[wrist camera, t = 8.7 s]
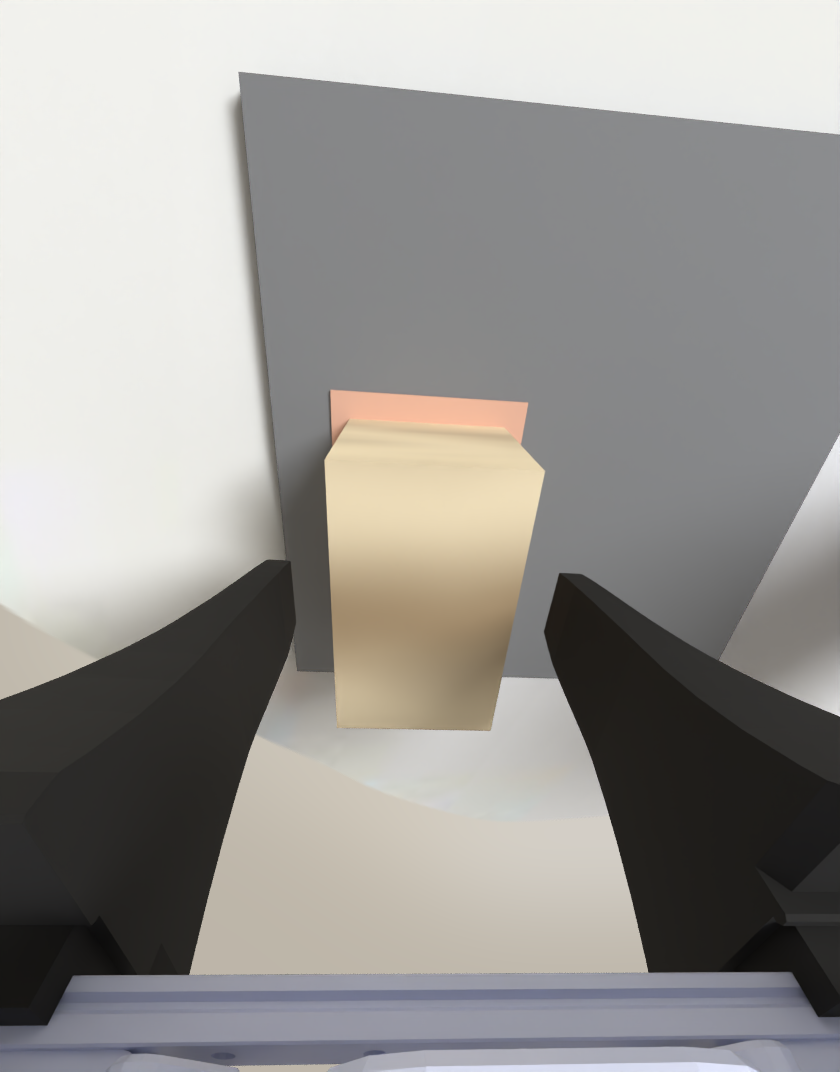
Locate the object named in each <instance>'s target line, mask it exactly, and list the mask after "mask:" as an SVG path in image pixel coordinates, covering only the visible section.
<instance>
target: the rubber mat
mask: <svg viewBox="0 0 840 1072" xmlns="http://www.w3.org/2000/svg"><path fill="white" fill-rule="evenodd" d="M239 82H240V92H241V102H242V113H243V123H244V133H245V143H246V153H247V164H248V174H249V184H250V194H251V204H252V214H253V225H254V235H255V245H256V255H257V265H258V276H259V286H260V296H261V306H262V316H263V327H264V337H265V347H266V357H267V367H268V378H269V388H270V398H271V408H272V418H273V429H274V439H275V449H276V459H277V469H278V480H279V490H280V500H281V510H282V520H283V531H284V541H285V551H286V561H291V570H292V581H293V592H294V602H295V613H296V626H295V630H294V643H295V653H296V663H297V671H313V672H334V652H333V631H332V610H331V588H330V567H329V546H328V525H327V504H326V482H325V461H324V460H325V458H326V456H327V455H328V453H329V452H330V450H331V448H332V447H333V445H334V443H335V442H336V440H337V439H338V437H339V435H340V434H341V432H342V430H343V429H344V427H345V426H346V424H347V422H348V421H349V419H365V420H382V421H400V422H417V423H435V424H452V425H470V426H487V427H505V429H506V430H507V431H508V432H509V433H510V434H511V435H512V436H513V437H514V438H515V439H516V440H517V441H518V443H519V444H520V445H521V446H522V447H523V448H524V449H525V450H526V451H527V452H528V453H529V454H530V455H531V457H532V458H533V459H534V460H535V461H536V462H537V463H538V464H539V465H540V466H541V467H542V468H543V469H544V470H545V474H544V479H543V484H542V488H541V493H540V498H539V503H538V507H537V512H536V517H535V522H534V526H533V531H532V536H531V541H530V545H529V550H528V555H527V560H526V564H525V569H524V574H523V579H522V583H521V588H520V593H519V598H518V602H517V607H516V612H515V617H514V621H513V626H512V631H511V636H510V640H509V645H508V650H507V655H506V659H505V664H504V669H503V674H502V677H522V678H557V679H558V677H557V675H556V672H555V670H554V667H553V665H552V661H551V658H550V654H549V651H548V647H547V643H546V639H545V635H544V629H545V625H546V621H547V617H548V614H549V610H550V606H551V602H552V598H553V595H554V591H555V587H556V583H557V579H558V576H559V573H574V574H583V575H584V576H586V577H588V578H589V579H591V580H593V581H594V582H596V583H597V584H599V585H600V586H602V587H603V588H605V589H606V590H608V591H609V592H611V593H612V594H613V595H615V596H616V597H618V598H619V599H621V600H622V601H623V602H625V603H626V604H628V605H629V606H631V607H632V608H634V609H635V610H637V611H638V612H639V613H641V614H642V615H644V616H645V617H647V618H648V619H650V620H651V621H653V622H654V623H656V624H658V625H659V626H661V627H662V628H664V629H665V630H667V631H669V632H670V633H672V634H673V635H675V636H677V637H678V638H680V639H681V640H683V641H685V642H686V643H688V644H690V645H691V646H693V647H695V648H697V649H698V650H700V651H702V652H703V653H705V654H707V655H709V656H711V657H713V658H715V659H716V660H719V658H720V656H721V654H722V652H723V651H724V649H725V647H726V645H727V643H728V641H729V639H730V637H731V636H732V634H733V632H734V630H735V628H736V626H737V624H738V623H739V621H740V619H741V617H742V615H743V613H744V611H745V609H746V608H747V606H748V604H749V602H750V600H751V598H752V596H753V595H754V593H755V591H756V589H757V587H758V585H759V583H760V581H761V580H762V578H763V576H764V574H765V572H766V570H767V568H768V567H769V565H770V563H771V561H772V559H773V557H774V555H775V554H776V552H777V550H778V548H779V546H780V544H781V542H782V540H783V539H784V537H785V535H786V533H787V531H788V529H789V527H790V526H791V524H792V522H793V520H794V518H795V516H796V514H797V512H798V511H799V509H800V507H801V505H802V503H803V501H804V499H805V498H806V496H807V494H808V492H809V490H810V488H811V486H812V484H813V483H814V481H815V479H816V477H817V475H818V473H819V471H820V470H821V468H822V466H823V464H824V462H825V460H826V458H827V456H828V455H829V453H830V451H831V449H832V447H833V445H834V443H835V442H836V440H837V438H838V436H839V434H840V135H838V134H828V133H819V132H809V131H800V130H790V129H780V128H771V127H761V126H752V125H742V124H733V123H723V122H713V121H704V120H694V119H685V118H675V117H666V116H656V115H646V114H637V113H627V112H618V111H608V110H599V109H589V108H579V107H570V106H560V105H551V104H541V103H532V102H522V101H512V100H503V99H493V98H484V97H474V96H465V95H455V94H445V93H436V92H426V91H417V90H407V89H398V88H388V87H379V86H369V85H359V84H350V83H340V82H331V81H321V80H312V79H302V78H292V77H283V76H273V75H264V74H254V73H245V72H239Z"/></svg>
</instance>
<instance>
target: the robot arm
mask: <svg viewBox="0 0 840 1072" xmlns="http://www.w3.org/2000/svg"><path fill="white" fill-rule="evenodd" d="M295 626H296V613H295V602H294V592H293V581H292V570H291V561H283V560H266V561H264V562H263V563H261V564H260V565H258V566H257V567H255V568H254V569H252V570H251V571H250V572H248V573H247V574H245V575H244V576H243V577H241V578H240V579H238V580H237V581H236V582H234V583H233V584H231V585H230V586H228V587H227V588H225V589H224V590H223V591H221V592H220V593H218V594H217V595H215V596H214V597H212V598H211V599H209V600H208V601H206V602H205V603H203V604H201V605H200V606H198V607H197V608H195V609H194V610H192V611H190V612H189V613H187V614H186V615H184V616H182V617H181V618H179V619H178V620H176V621H174V622H173V623H171V624H169V625H167V626H166V627H164V628H162V629H160V630H159V631H157V632H155V633H153V634H151V635H149V636H147V637H146V638H144V639H142V640H140V641H138V642H136V643H134V644H132V645H130V646H128V647H126V648H124V649H122V650H120V651H118V652H116V653H113V654H111V655H109V656H107V657H105V658H102V659H100V660H98V661H96V662H93V663H91V664H89V665H87V666H85V667H82V668H80V669H78V670H76V671H73V672H71V673H69V674H67V675H64V676H62V677H59V678H57V679H54V680H51V681H49V682H46V683H44V684H41V685H39V686H36V687H34V688H31V689H28V690H26V691H23V692H20V693H18V694H15V695H12V696H10V697H7V698H4V699H1V700H0V1072H239V1070H238V1068H235V1067H230V1066H242V1065H303V1064H304V1065H307V1064H341V1065H337V1066H334V1067H331V1068H330V1069H329V1070H328V1071H327V1072H840V717H839V716H837V715H834V714H832V713H829V712H827V711H824V710H822V709H820V708H817V707H815V706H813V705H810V704H808V703H806V702H803V701H801V700H798V699H796V698H794V697H792V696H789V695H787V694H785V693H783V692H781V691H779V690H777V689H774V688H772V687H770V686H768V685H766V684H764V683H761V682H759V681H757V680H755V679H753V678H751V677H749V676H747V675H745V674H743V673H741V672H739V671H737V670H735V669H733V668H731V667H729V666H728V665H726V664H724V663H722V662H720V661H718V660H716V659H715V658H713V657H711V656H709V655H707V654H705V653H703V652H702V651H700V650H698V649H697V648H695V647H693V646H691V645H690V644H688V643H686V642H685V641H683V640H681V639H680V638H678V637H677V636H675V635H673V634H672V633H670V632H669V631H667V630H665V629H664V628H662V627H661V626H659V625H658V624H656V623H654V622H653V621H651V620H650V619H648V618H647V617H645V616H644V615H642V614H641V613H639V612H638V611H637V610H635V609H634V608H632V607H631V606H629V605H628V604H626V603H625V602H623V601H622V600H621V599H619V598H618V597H616V596H615V595H613V594H612V593H611V592H609V591H608V590H606V589H605V588H603V587H602V586H600V585H599V584H597V583H596V582H594V581H593V580H591V579H589V578H588V577H586V576H584V575H583V574H574V573H559V576H558V579H557V583H556V587H555V591H554V595H553V598H552V602H551V606H550V610H549V614H548V617H547V621H546V625H545V629H544V635H545V639H546V643H547V647H548V651H549V654H550V658H551V661H552V665H553V667H554V670H555V672H556V675H557V677H558V679H559V682H560V684H561V686H562V689H563V691H564V694H565V696H566V698H567V701H568V703H569V705H570V707H571V710H572V712H573V714H574V717H575V719H576V721H577V724H578V726H579V728H580V731H581V733H582V735H583V738H584V740H585V742H586V745H587V748H588V750H589V753H590V756H591V758H592V761H593V764H594V767H595V771H596V774H597V777H598V780H599V783H600V786H601V790H602V793H603V796H604V799H605V803H606V806H607V809H608V813H609V816H610V820H611V823H612V826H613V830H614V834H615V837H616V840H617V844H618V848H619V852H620V856H621V859H622V863H623V867H624V871H625V875H626V879H627V882H628V886H629V890H630V894H631V898H632V902H633V906H634V910H635V915H636V919H637V923H638V928H639V932H640V937H641V941H642V945H643V950H644V954H645V958H646V963H647V967H648V972H649V973H494V974H493V973H492V974H491V973H490V974H301V975H299V974H291V975H289V974H285V975H189V973H190V969H191V965H192V960H193V956H194V952H195V948H196V944H197V940H198V936H199V932H200V928H201V924H202V920H203V915H204V911H205V907H206V903H207V899H208V895H209V891H210V888H211V884H212V880H213V876H214V872H215V869H216V865H217V861H218V857H219V854H220V849H221V846H222V842H223V838H224V835H225V832H226V828H227V824H228V821H229V817H230V814H231V810H232V807H233V803H234V800H235V796H236V793H237V789H238V786H239V783H240V780H241V776H242V773H243V770H244V766H245V763H246V760H247V757H248V753H249V750H250V747H251V745H252V742H253V739H254V737H255V734H256V731H257V729H258V727H259V724H260V722H261V719H262V717H263V715H264V712H265V710H266V707H267V705H268V703H269V700H270V698H271V695H272V693H273V691H274V688H275V686H276V683H277V681H278V679H279V676H280V674H281V671H282V669H283V666H284V664H285V661H286V659H287V656H288V653H289V649H290V645H291V642H292V638H293V634H294V630H295Z"/></svg>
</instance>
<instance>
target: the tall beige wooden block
mask: <svg viewBox="0 0 840 1072" xmlns="http://www.w3.org/2000/svg"><path fill="white" fill-rule="evenodd" d="M324 461H325V482H326V504H327V525H328V546H329V567H330V588H331V610H332V631H333V652H334V673H335V695H336V716H337V728H371V729H425V730H478V731H491V726H492V721H493V716H494V712H495V707H496V702H497V697H498V693H499V688H500V683H501V678H502V674H503V669H504V664H505V659H506V655H507V650H508V645H509V640H510V636H511V631H512V626H513V621H514V617H515V612H516V607H517V602H518V598H519V593H520V588H521V583H522V579H523V574H524V569H525V564H526V560H527V555H528V550H529V545H530V541H531V536H532V531H533V526H534V522H535V517H536V512H537V507H538V503H539V498H540V493H541V488H542V484H543V479H544V474H545V470H544V469H543V468H542V467H541V466H540V465H539V464H538V463H537V462H536V461H535V460H534V459H533V458H532V457H531V455H530V454H529V453H528V452H527V451H526V450H525V449H524V448H523V447H522V446H521V445H520V444H519V443H518V441H517V440H516V439H515V438H514V437H513V436H512V435H511V434H510V433H509V432H508V431H507V430H506V429H505V427H487V426H470V425H452V424H435V423H417V422H400V421H382V420H365V419H349V421H348V422H347V424H346V426H345V427H344V429H343V430H342V432H341V434H340V435H339V437H338V439H337V440H336V442H335V443H334V445H333V447H332V448H331V450H330V452H329V453H328V455H327V456H326V458H325V460H324Z"/></svg>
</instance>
